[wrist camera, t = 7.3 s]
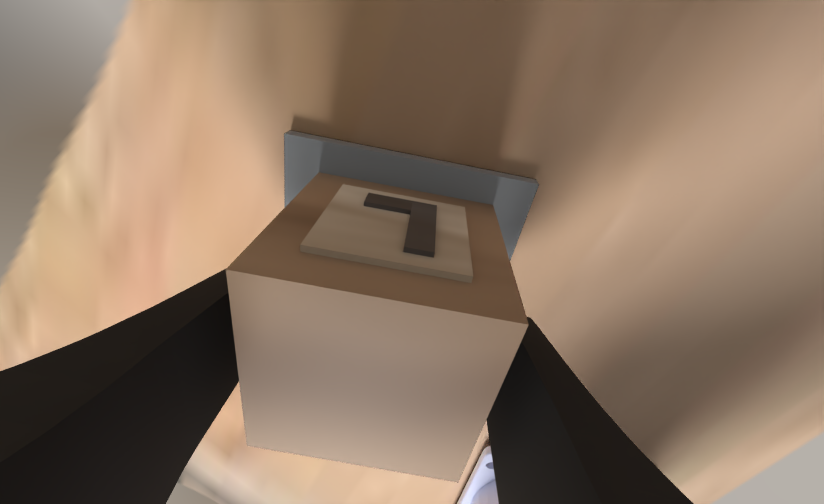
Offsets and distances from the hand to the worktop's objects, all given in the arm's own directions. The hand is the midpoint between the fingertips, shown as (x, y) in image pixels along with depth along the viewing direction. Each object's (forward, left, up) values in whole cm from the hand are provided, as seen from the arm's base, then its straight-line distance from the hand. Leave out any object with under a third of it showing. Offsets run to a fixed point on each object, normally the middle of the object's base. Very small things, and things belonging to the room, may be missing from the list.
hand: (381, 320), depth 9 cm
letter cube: (0, 0, -3) cm, 3 cm away
